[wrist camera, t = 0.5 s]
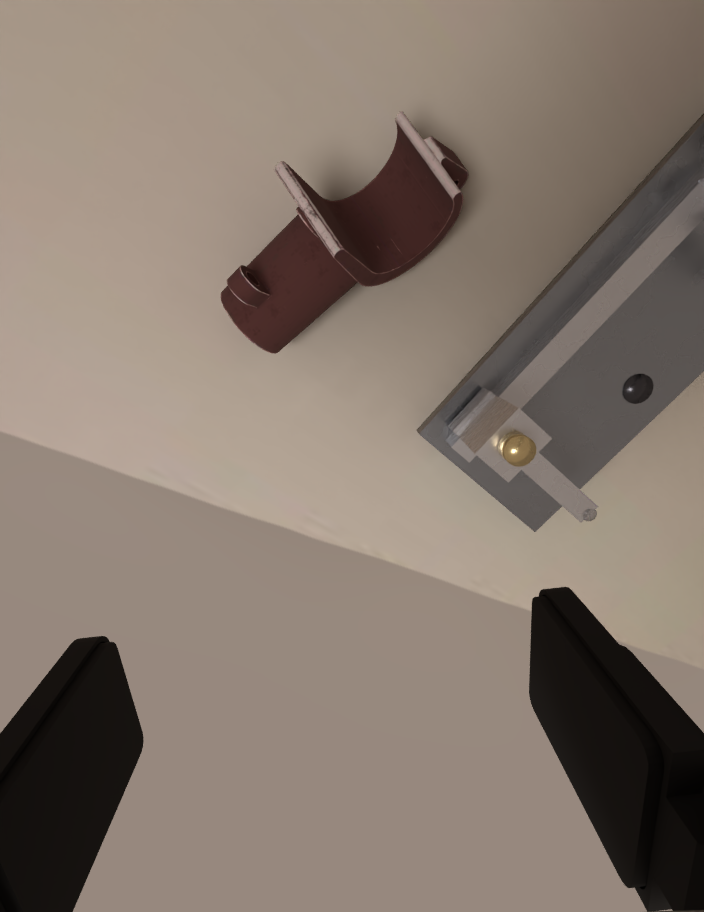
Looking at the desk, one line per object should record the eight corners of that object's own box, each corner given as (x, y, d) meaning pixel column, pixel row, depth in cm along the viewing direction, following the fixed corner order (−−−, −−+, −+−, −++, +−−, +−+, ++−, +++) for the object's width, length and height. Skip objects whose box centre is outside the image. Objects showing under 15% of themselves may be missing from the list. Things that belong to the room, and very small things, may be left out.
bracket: (489, 206, 31) (473, 124, 21) (306, 361, 37) (231, 350, 28) (438, 136, 31) (401, 27, 22) (266, 300, 37) (180, 269, 28)
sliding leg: (482, 387, 35) (523, 408, 28) (570, 467, 38) (629, 507, 30) (447, 425, 36) (477, 456, 29) (534, 501, 39) (583, 549, 31)
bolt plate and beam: (707, 109, 32) (829, 44, 24) (815, 251, 35) (953, 235, 27) (416, 430, 38) (437, 461, 30) (529, 525, 41) (574, 576, 33)
